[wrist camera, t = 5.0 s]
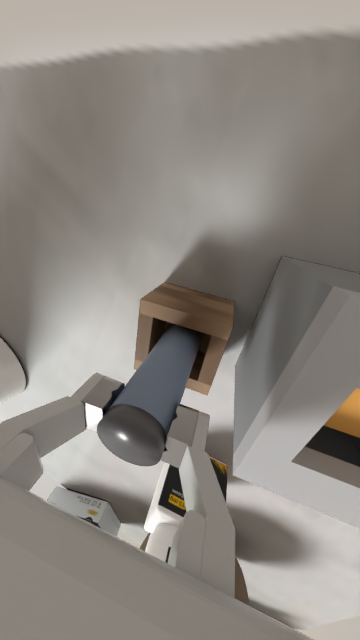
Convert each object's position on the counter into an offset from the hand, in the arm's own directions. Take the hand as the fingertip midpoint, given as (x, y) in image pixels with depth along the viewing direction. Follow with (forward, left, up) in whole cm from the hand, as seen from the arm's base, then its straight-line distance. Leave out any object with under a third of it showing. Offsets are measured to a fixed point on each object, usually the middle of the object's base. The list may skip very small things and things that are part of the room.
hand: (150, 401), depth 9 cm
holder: (0, 0, -9) cm, 9 cm away
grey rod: (0, 0, -8) cm, 8 cm away
